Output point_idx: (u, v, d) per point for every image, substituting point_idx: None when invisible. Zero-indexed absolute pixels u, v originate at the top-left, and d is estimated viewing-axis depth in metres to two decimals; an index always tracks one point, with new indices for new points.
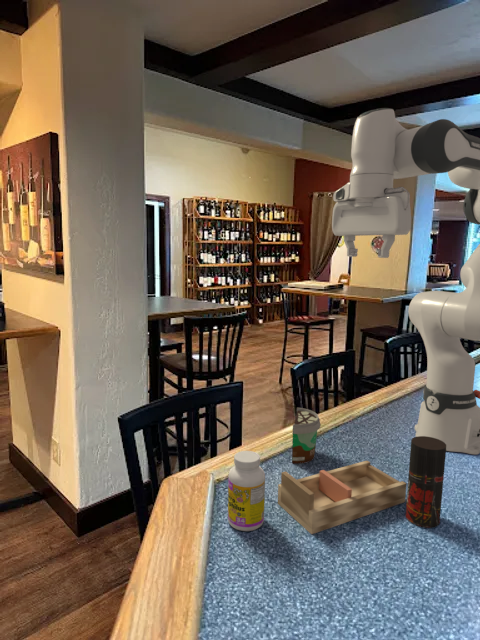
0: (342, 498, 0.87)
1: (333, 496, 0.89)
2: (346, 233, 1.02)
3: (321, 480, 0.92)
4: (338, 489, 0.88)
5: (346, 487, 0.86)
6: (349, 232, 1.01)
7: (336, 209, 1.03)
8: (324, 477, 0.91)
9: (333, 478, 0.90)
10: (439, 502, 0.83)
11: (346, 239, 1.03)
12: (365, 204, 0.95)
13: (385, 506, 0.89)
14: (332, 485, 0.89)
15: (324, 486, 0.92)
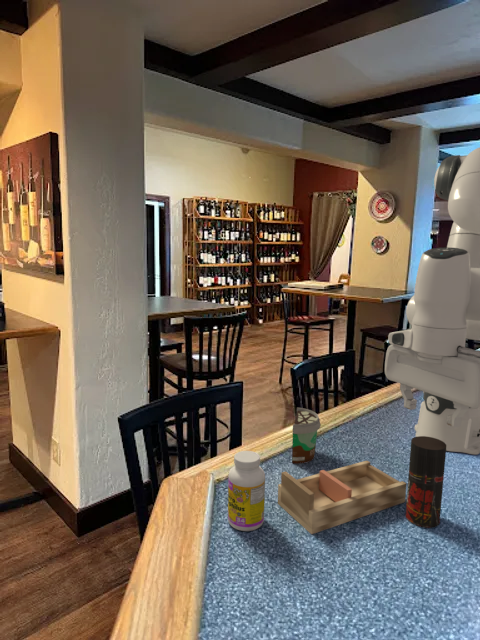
0: (342, 498, 0.87)
1: (333, 496, 0.89)
2: (404, 383, 0.85)
3: (321, 480, 0.92)
4: (338, 489, 0.88)
5: (346, 487, 0.86)
6: (408, 383, 0.85)
7: (391, 352, 0.87)
8: (324, 477, 0.91)
9: (333, 478, 0.90)
10: (439, 502, 0.83)
11: (403, 388, 0.87)
12: (432, 361, 0.78)
13: (385, 506, 0.89)
14: (332, 485, 0.89)
15: (324, 486, 0.92)
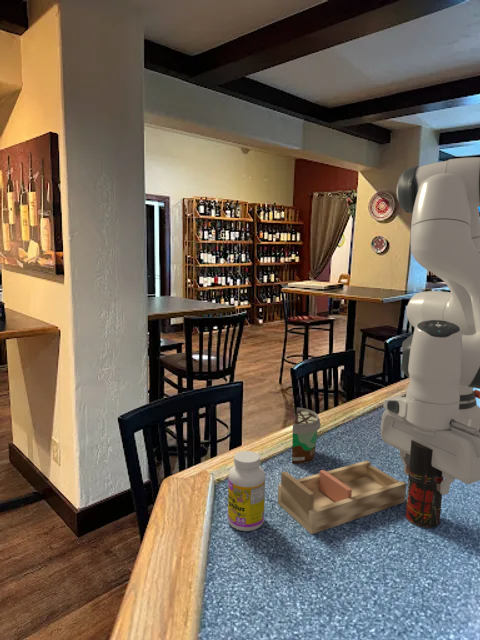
0: (342, 498, 0.87)
1: (333, 496, 0.89)
2: (399, 448, 0.88)
3: (321, 480, 0.92)
4: (338, 489, 0.88)
5: (346, 487, 0.86)
6: (403, 449, 0.87)
7: (387, 417, 0.89)
8: (324, 477, 0.91)
9: (333, 478, 0.90)
10: (439, 502, 0.83)
11: (403, 455, 0.88)
12: (426, 433, 0.81)
13: (385, 506, 0.89)
14: (332, 485, 0.89)
15: (324, 486, 0.92)
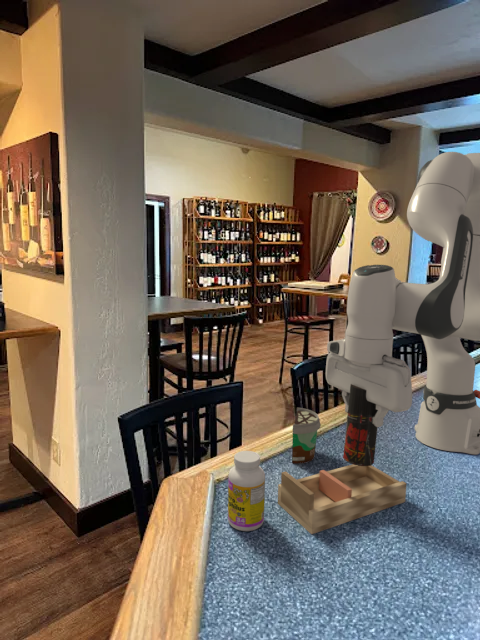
0: (342, 498, 0.87)
1: (333, 496, 0.89)
2: (341, 388, 0.93)
3: (321, 480, 0.92)
4: (338, 489, 0.88)
5: (346, 487, 0.86)
6: (344, 388, 0.92)
7: (330, 359, 0.95)
8: (324, 477, 0.91)
9: (333, 478, 0.90)
10: (373, 442, 0.89)
11: (344, 394, 0.93)
12: (361, 369, 0.86)
13: (385, 506, 0.89)
14: (332, 485, 0.89)
15: (324, 486, 0.92)
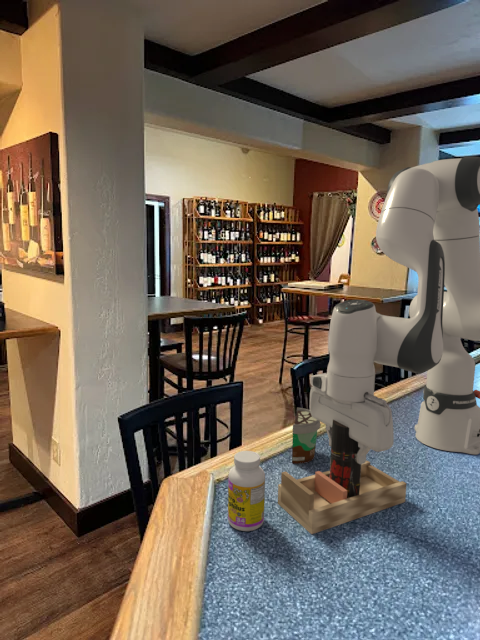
0: (338, 499, 0.86)
1: (329, 497, 0.89)
2: (324, 422, 0.92)
3: (317, 481, 0.92)
4: (334, 490, 0.87)
5: (341, 489, 0.86)
6: (327, 423, 0.91)
7: (313, 393, 0.94)
8: (320, 478, 0.91)
9: (329, 479, 0.89)
10: (357, 478, 0.88)
11: (328, 428, 0.93)
12: (343, 406, 0.85)
13: (385, 506, 0.89)
14: (327, 486, 0.89)
15: (320, 487, 0.91)
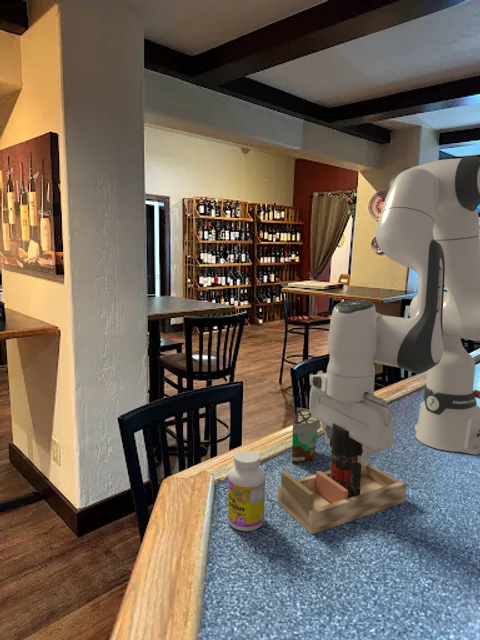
0: (338, 499, 0.86)
1: (329, 497, 0.89)
2: (324, 422, 0.92)
3: (317, 481, 0.92)
4: (334, 490, 0.87)
5: (342, 489, 0.86)
6: (327, 423, 0.91)
7: (313, 393, 0.94)
8: (320, 478, 0.91)
9: (329, 479, 0.89)
10: (358, 481, 0.88)
11: (324, 426, 0.93)
12: (343, 405, 0.85)
13: (385, 506, 0.89)
14: (328, 486, 0.89)
15: (320, 487, 0.91)
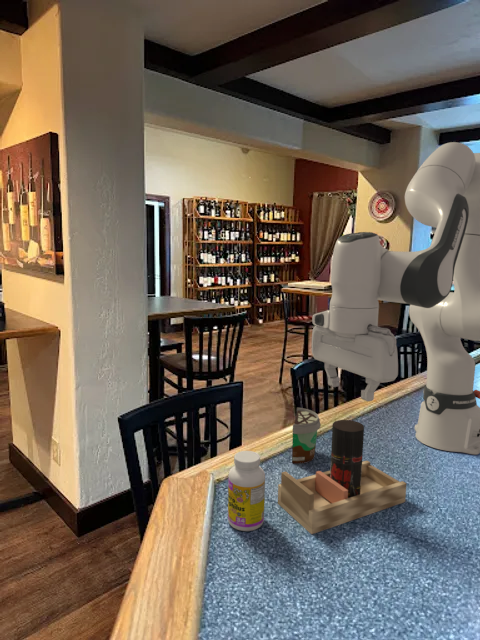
0: (338, 499, 0.86)
1: (329, 497, 0.89)
2: (326, 361, 0.90)
3: (317, 481, 0.92)
4: (334, 490, 0.87)
5: (342, 489, 0.86)
6: (330, 362, 0.89)
7: (315, 332, 0.92)
8: (320, 478, 0.91)
9: (329, 479, 0.89)
10: (358, 481, 0.88)
11: (327, 367, 0.91)
12: (346, 339, 0.83)
13: (385, 506, 0.89)
14: (328, 486, 0.89)
15: (320, 487, 0.91)
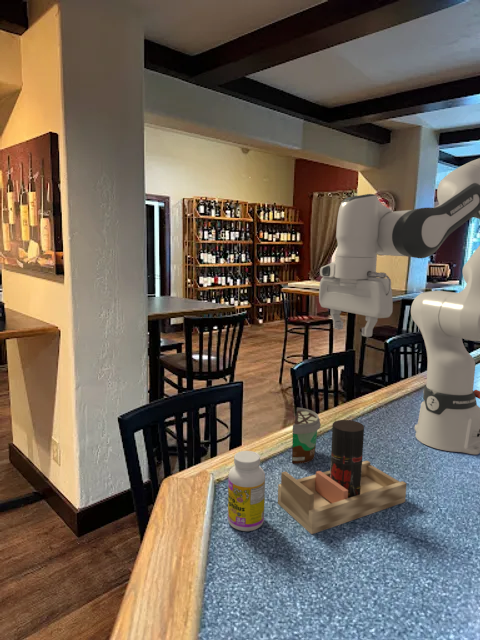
0: (338, 499, 0.86)
1: (329, 497, 0.89)
2: (332, 307, 1.06)
3: (317, 481, 0.92)
4: (334, 490, 0.87)
5: (342, 489, 0.86)
6: (335, 307, 1.05)
7: (323, 283, 1.07)
8: (320, 478, 0.91)
9: (329, 479, 0.89)
10: (358, 481, 0.88)
11: (332, 312, 1.07)
12: (349, 285, 0.99)
13: (385, 506, 0.89)
14: (328, 486, 0.89)
15: (320, 487, 0.91)
